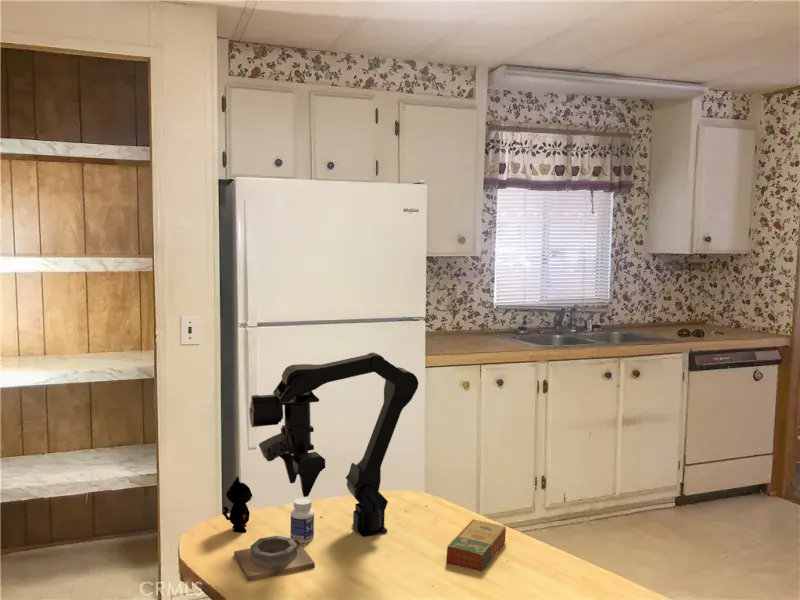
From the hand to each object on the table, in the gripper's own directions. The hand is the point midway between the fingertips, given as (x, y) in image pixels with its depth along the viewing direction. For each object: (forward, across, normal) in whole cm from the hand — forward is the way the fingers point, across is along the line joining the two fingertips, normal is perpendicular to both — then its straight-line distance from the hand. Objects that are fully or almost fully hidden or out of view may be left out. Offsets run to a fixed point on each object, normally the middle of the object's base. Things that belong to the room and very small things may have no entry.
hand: (298, 489), depth 152 cm
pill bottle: (+12, 0, +1) cm, 12 cm away
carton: (+13, +22, +33) cm, 42 cm away
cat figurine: (+12, -11, -11) cm, 20 cm away
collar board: (+12, +8, -8) cm, 16 cm away
